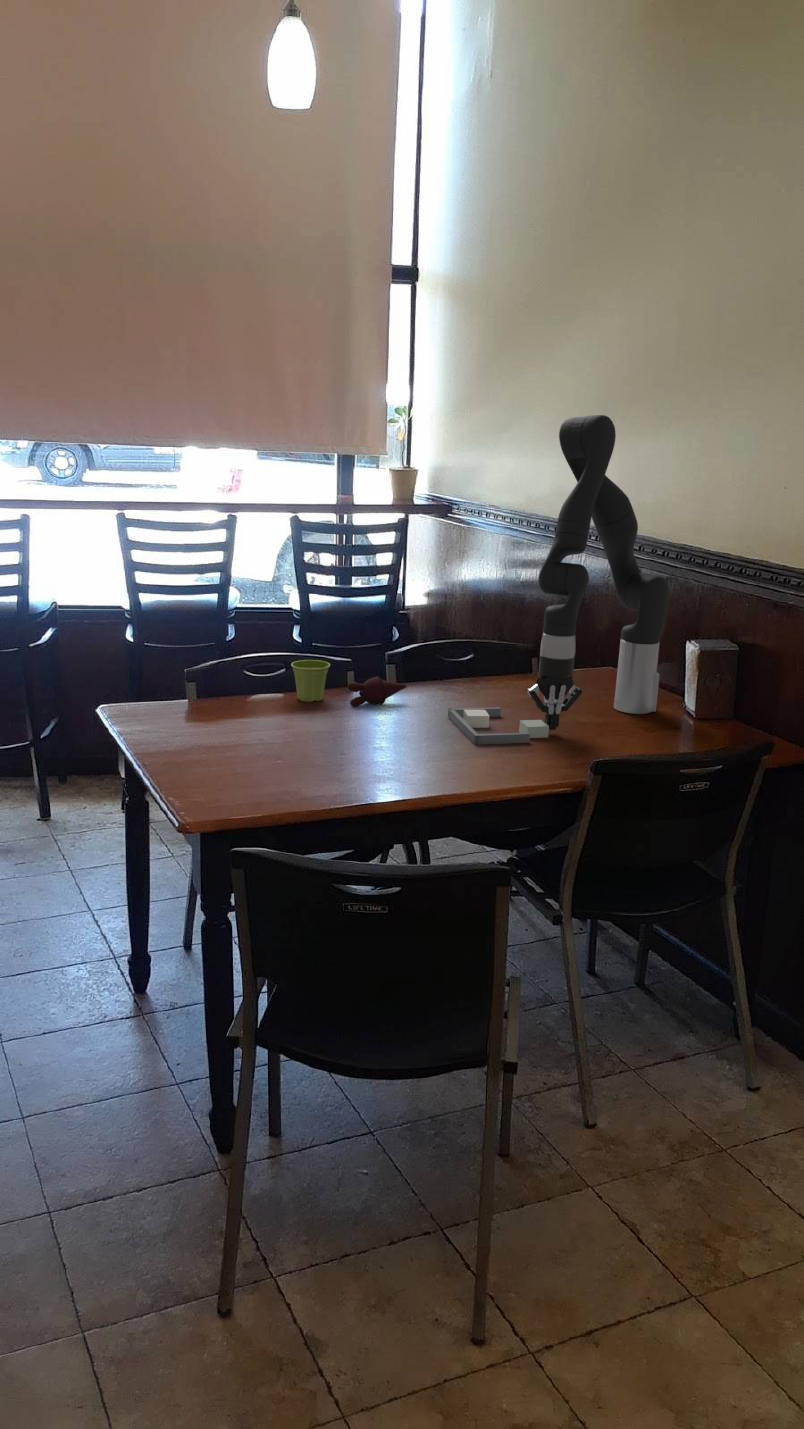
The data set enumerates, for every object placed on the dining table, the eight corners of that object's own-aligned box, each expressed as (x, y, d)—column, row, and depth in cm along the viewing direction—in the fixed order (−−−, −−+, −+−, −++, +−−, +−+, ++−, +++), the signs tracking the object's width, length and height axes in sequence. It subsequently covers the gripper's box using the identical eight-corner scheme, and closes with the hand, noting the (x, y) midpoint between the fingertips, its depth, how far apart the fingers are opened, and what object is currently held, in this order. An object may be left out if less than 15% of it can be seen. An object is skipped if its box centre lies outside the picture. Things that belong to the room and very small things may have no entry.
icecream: (398, 671, 273) (341, 681, 267) (410, 671, 266) (352, 680, 260) (402, 699, 274) (345, 709, 268) (414, 700, 267) (356, 710, 261)
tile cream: (484, 722, 257) (485, 709, 257) (488, 728, 253) (489, 715, 252) (462, 722, 257) (463, 709, 256) (467, 728, 252) (467, 715, 251)
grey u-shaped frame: (499, 715, 262) (499, 707, 262) (529, 742, 243) (530, 733, 242) (448, 716, 259) (448, 708, 259) (474, 744, 240) (475, 735, 239)
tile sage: (539, 732, 252) (540, 719, 251) (547, 739, 247) (549, 726, 247) (518, 733, 251) (519, 720, 250) (526, 739, 246) (527, 726, 245)
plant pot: (284, 701, 266) (284, 666, 264) (299, 692, 275) (299, 657, 272) (321, 706, 264) (321, 670, 261) (335, 696, 272) (335, 662, 270)
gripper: (578, 649, 250) (572, 723, 255) (523, 650, 247) (517, 725, 251) (592, 657, 243) (585, 733, 248) (535, 658, 240) (529, 735, 244)
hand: (551, 729), depth 250 cm, fingers closed
